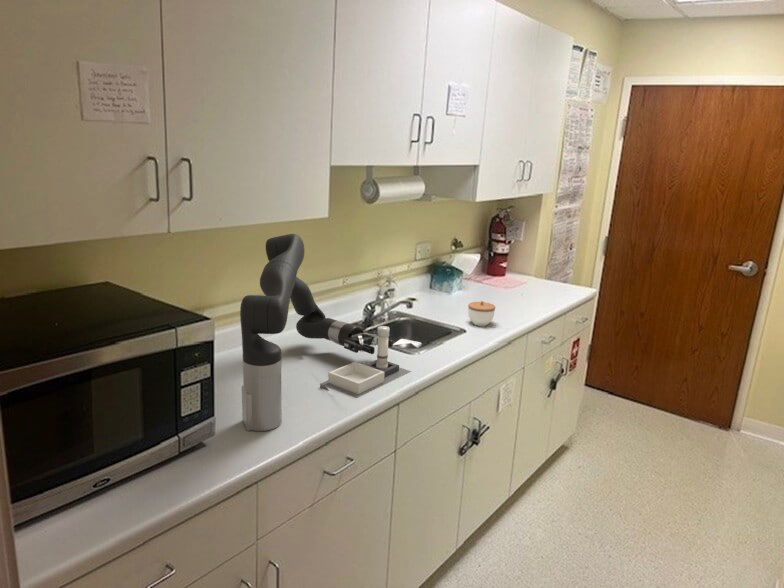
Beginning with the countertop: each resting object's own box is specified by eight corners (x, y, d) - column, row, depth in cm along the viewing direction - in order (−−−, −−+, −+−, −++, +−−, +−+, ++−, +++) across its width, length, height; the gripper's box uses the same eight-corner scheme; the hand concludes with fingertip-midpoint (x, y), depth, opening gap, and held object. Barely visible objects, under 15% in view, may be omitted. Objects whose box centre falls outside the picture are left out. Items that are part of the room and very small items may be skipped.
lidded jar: (474, 328, 229) (476, 305, 227) (462, 320, 239) (464, 298, 236) (498, 326, 233) (500, 304, 230) (485, 318, 242) (487, 297, 240)
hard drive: (407, 353, 197) (421, 342, 208) (385, 348, 200) (400, 338, 211) (407, 357, 197) (421, 346, 208) (385, 353, 201) (400, 342, 211)
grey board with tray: (356, 401, 161) (357, 387, 160) (320, 387, 169) (320, 373, 168) (411, 374, 181) (411, 361, 180) (376, 363, 189) (376, 350, 188)
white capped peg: (378, 373, 178) (380, 330, 174) (374, 369, 181) (375, 326, 178) (389, 372, 180) (391, 329, 176) (384, 367, 183) (386, 325, 179)
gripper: (329, 328, 182) (367, 341, 172) (360, 319, 193) (398, 330, 183) (329, 350, 184) (367, 364, 174) (360, 340, 194) (397, 353, 185)
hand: (383, 347), depth 178 cm, fingers open, 8 cm apart
